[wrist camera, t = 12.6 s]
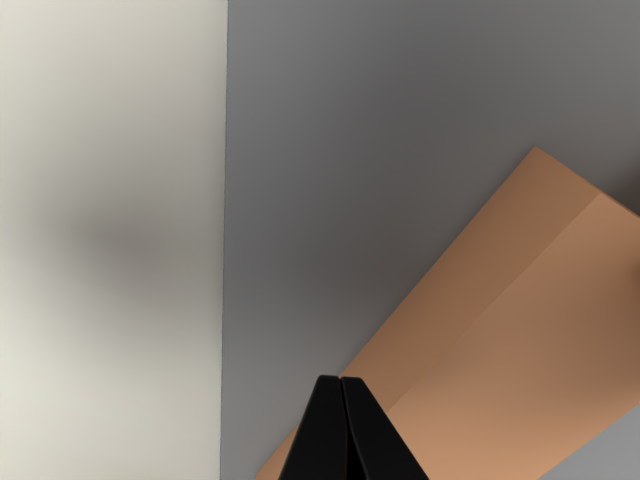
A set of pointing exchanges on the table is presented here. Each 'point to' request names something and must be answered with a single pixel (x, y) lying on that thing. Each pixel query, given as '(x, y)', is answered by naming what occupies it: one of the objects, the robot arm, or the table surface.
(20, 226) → the table surface
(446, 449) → the link
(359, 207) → the mat
